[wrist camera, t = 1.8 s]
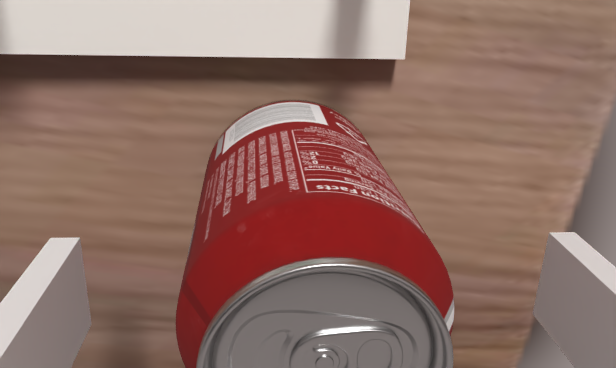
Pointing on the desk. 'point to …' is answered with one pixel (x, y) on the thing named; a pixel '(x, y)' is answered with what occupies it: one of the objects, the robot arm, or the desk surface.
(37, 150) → the desk surface
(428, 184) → the desk surface
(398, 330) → the soda can
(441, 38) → the desk surface
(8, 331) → the robot arm
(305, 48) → the white pegged board
